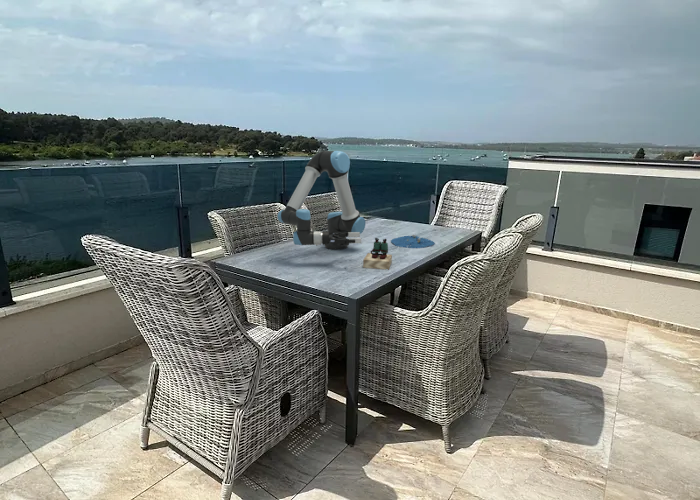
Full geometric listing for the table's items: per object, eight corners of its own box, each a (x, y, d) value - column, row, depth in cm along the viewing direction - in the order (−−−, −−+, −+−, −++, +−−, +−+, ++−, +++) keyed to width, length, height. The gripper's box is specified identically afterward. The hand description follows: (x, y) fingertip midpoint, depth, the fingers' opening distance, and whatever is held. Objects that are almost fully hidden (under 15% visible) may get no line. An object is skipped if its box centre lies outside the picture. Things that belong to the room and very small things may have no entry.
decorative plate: (435, 252, 245) (435, 244, 243) (389, 248, 250) (389, 241, 248) (434, 239, 272) (434, 232, 271) (392, 237, 278) (392, 230, 276)
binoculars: (369, 242, 202) (374, 236, 211) (369, 260, 206) (374, 254, 215) (385, 243, 200) (389, 237, 209) (385, 262, 204) (389, 255, 212)
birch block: (363, 268, 206) (363, 259, 205) (367, 261, 219) (367, 253, 218) (388, 270, 203) (388, 261, 202) (391, 263, 216) (391, 254, 215)
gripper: (322, 238, 219) (359, 238, 220) (321, 250, 195) (362, 250, 196) (322, 226, 217) (359, 226, 218) (320, 236, 193) (362, 236, 194)
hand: (360, 237), depth 207 cm, fingers open, 13 cm apart
